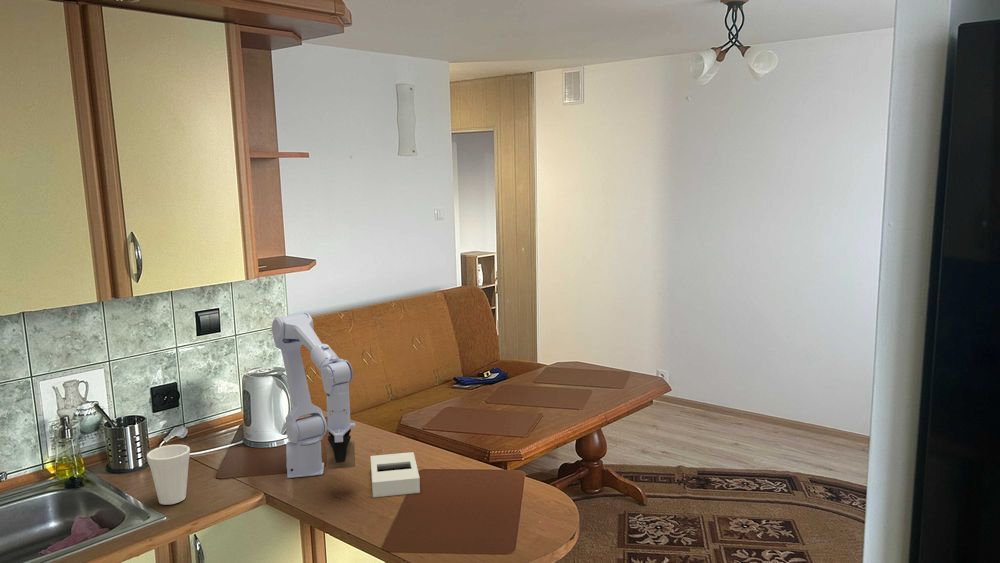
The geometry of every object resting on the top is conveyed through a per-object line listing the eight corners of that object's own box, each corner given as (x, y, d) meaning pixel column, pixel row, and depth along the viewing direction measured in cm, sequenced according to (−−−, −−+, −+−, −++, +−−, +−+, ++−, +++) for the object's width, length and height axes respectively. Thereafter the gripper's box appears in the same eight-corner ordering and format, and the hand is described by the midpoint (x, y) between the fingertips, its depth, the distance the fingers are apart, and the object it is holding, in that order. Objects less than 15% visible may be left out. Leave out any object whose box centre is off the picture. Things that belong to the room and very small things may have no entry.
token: (327, 469, 179) (326, 447, 178) (327, 464, 182) (326, 442, 181) (355, 466, 181) (354, 444, 180) (355, 462, 184) (354, 440, 183)
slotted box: (372, 497, 179) (372, 482, 178) (371, 469, 197) (370, 455, 196) (420, 492, 181) (419, 477, 181) (414, 465, 199) (413, 452, 198)
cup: (167, 512, 172) (163, 462, 170) (141, 504, 177) (137, 454, 175) (202, 496, 181) (198, 448, 179) (177, 489, 185) (173, 441, 184)
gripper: (354, 416, 173) (356, 468, 175) (354, 398, 187) (356, 447, 189) (325, 418, 172) (327, 471, 174) (327, 400, 186) (329, 449, 188)
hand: (340, 459), depth 181 cm, fingers closed on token, 3 cm apart
